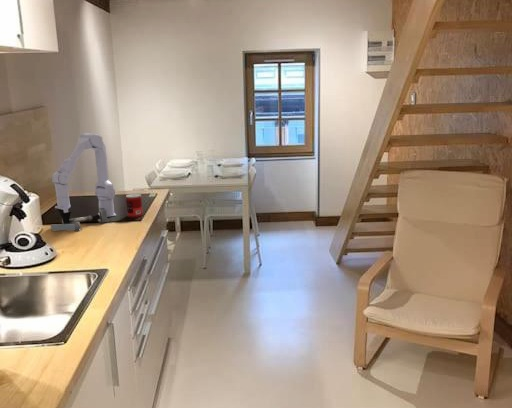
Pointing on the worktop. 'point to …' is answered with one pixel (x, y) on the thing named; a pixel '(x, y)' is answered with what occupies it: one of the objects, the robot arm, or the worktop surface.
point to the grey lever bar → (65, 226)
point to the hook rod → (80, 219)
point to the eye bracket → (103, 216)
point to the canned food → (134, 205)
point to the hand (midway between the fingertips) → (66, 223)
